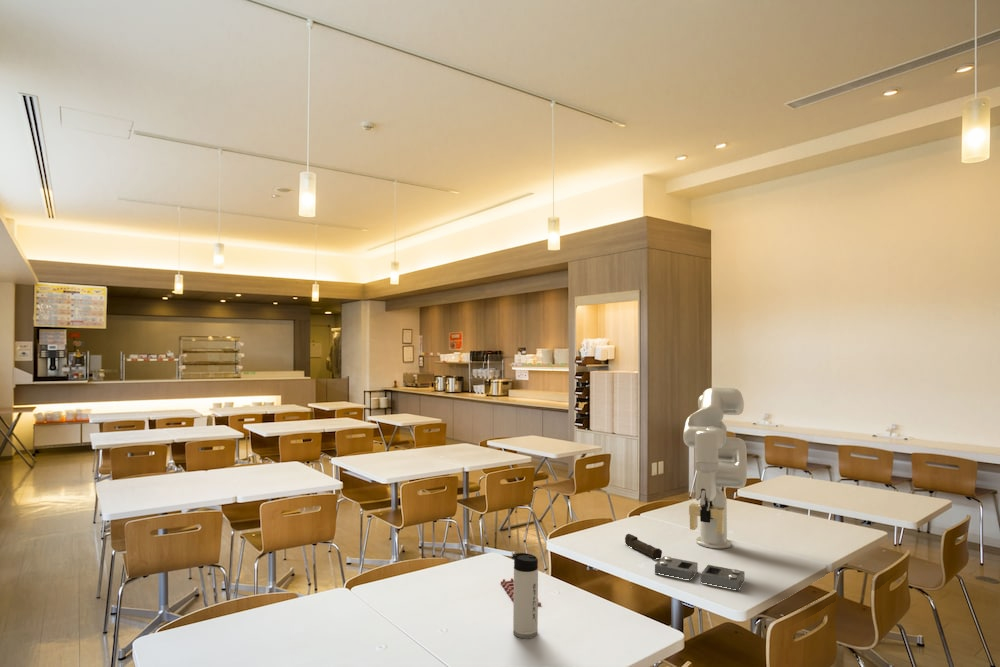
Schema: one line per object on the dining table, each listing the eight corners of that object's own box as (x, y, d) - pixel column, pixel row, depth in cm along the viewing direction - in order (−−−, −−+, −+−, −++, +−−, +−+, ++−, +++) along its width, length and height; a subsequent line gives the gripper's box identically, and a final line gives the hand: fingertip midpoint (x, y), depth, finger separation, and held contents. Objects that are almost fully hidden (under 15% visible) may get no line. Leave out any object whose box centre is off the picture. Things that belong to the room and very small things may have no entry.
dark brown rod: (662, 559, 209) (662, 546, 210) (653, 561, 208) (653, 547, 208) (631, 544, 227) (631, 531, 227) (622, 545, 225) (622, 532, 226)
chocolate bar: (517, 610, 167) (517, 603, 167) (500, 585, 185) (500, 579, 185) (541, 608, 169) (541, 601, 169) (522, 583, 187) (522, 577, 187)
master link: (692, 526, 207) (692, 503, 207) (725, 531, 201) (725, 507, 201) (689, 529, 203) (689, 505, 204) (722, 534, 198) (722, 510, 198)
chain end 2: (738, 591, 181) (738, 579, 181) (700, 583, 187) (700, 571, 187) (744, 581, 189) (744, 569, 189) (708, 573, 195) (708, 562, 195)
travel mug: (510, 628, 155) (511, 550, 156) (535, 627, 155) (536, 550, 156) (513, 639, 149) (513, 559, 149) (539, 638, 149) (539, 558, 150)
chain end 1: (663, 565, 203) (663, 554, 203) (697, 571, 197) (697, 560, 197) (654, 574, 195) (654, 563, 195) (689, 581, 189) (689, 569, 189)
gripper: (701, 461, 212) (701, 512, 211) (689, 469, 198) (689, 524, 197) (723, 463, 208) (723, 516, 207) (712, 472, 194) (712, 528, 193)
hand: (707, 519), depth 202 cm, fingers closed on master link, 4 cm apart
